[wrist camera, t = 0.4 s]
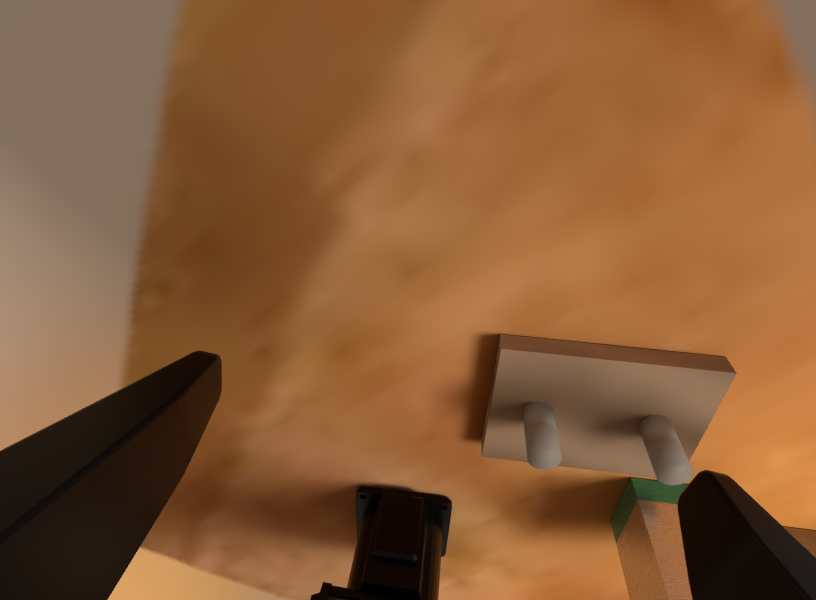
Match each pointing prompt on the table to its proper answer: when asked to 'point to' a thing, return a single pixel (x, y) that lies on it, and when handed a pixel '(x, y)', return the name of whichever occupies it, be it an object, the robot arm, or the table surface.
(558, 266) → the table surface
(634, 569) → the sleeve
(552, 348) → the pin board
